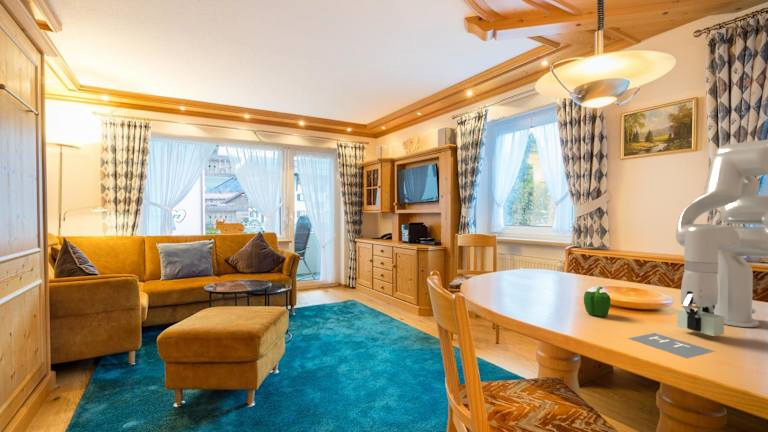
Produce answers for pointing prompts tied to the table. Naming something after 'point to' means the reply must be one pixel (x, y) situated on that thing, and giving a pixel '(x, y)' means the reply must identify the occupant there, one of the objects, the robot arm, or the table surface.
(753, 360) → the table surface
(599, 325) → the table surface
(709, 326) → the sage block
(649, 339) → the card
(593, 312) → the bell pepper
